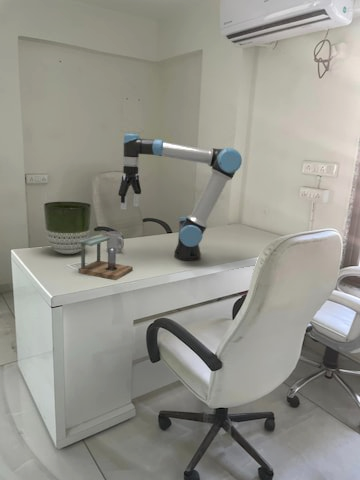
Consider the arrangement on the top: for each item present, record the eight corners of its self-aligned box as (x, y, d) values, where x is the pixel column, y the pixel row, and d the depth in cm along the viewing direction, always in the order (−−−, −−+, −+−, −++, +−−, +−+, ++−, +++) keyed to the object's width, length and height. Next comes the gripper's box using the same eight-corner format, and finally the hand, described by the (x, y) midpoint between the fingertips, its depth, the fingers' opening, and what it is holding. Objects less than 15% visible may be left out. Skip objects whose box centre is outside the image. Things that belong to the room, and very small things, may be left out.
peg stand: (132, 270, 180) (133, 240, 177) (115, 280, 166) (116, 247, 162) (97, 264, 187) (97, 235, 184) (78, 272, 172) (78, 241, 169)
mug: (103, 251, 212) (103, 232, 209) (115, 248, 218) (115, 230, 216) (117, 255, 204) (117, 236, 202) (128, 253, 211) (129, 234, 208)
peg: (110, 271, 178) (110, 247, 175) (116, 272, 176) (117, 248, 174) (106, 273, 174) (106, 248, 172) (112, 274, 173) (113, 249, 170)
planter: (99, 254, 205) (100, 206, 198) (59, 261, 187) (58, 209, 181) (76, 245, 221) (75, 200, 214) (36, 251, 203) (35, 202, 197)
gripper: (135, 165, 197) (134, 204, 202) (111, 165, 175) (111, 209, 179) (148, 165, 195) (146, 205, 200) (125, 166, 172) (124, 211, 177)
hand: (129, 207), depth 190 cm, fingers open, 13 cm apart
